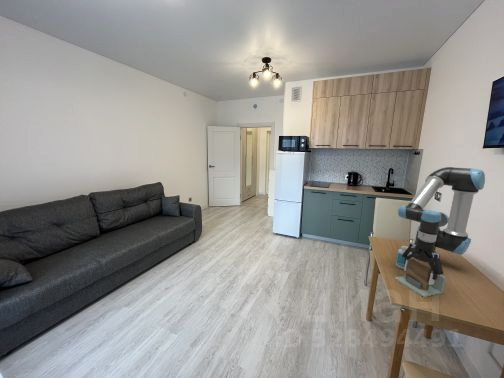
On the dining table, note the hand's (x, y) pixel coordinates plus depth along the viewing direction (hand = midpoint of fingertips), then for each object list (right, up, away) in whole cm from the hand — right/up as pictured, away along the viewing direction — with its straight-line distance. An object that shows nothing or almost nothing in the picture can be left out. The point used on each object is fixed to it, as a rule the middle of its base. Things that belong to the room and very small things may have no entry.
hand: (418, 277), depth 115 cm
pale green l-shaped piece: (+1, -5, +1) cm, 6 cm away
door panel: (0, -4, +1) cm, 4 cm away
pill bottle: (+6, -2, +21) cm, 22 cm away
